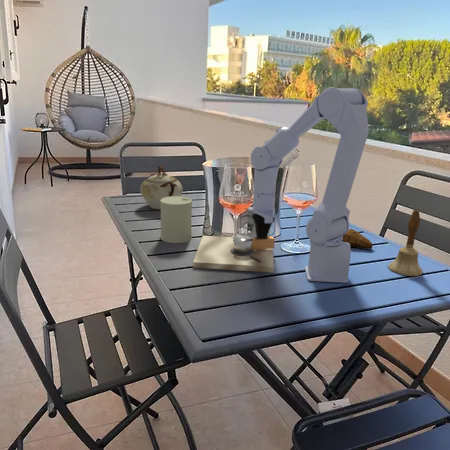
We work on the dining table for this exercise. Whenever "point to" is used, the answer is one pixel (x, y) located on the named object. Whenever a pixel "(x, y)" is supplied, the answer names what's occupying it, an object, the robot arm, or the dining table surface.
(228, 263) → the base plate
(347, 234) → the croissant
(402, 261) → the hand bell
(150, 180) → the sugar bowl
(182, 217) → the can
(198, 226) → the dining table surface
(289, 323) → the dining table surface
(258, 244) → the wooden handled dome
